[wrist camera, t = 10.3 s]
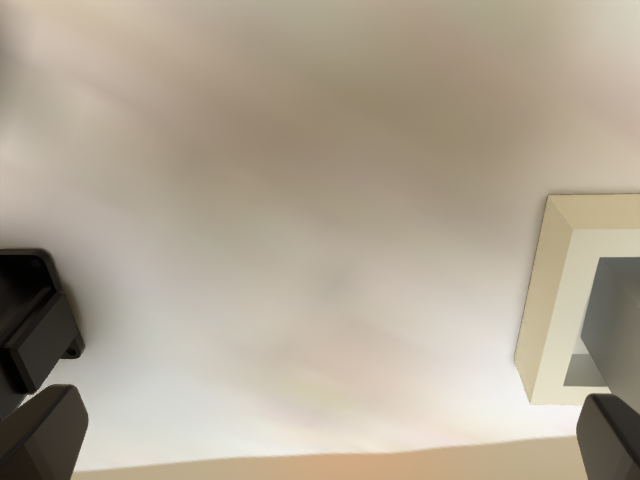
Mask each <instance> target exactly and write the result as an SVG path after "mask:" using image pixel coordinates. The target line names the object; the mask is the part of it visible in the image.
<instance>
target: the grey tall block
mask: <svg viewBox="0 0 640 480" xmlns="http://www.w3.org/2000/svg"><path fill="white" fill-rule="evenodd" d="M580 337H581V339H582V341H583V343H584V345H585V346H586V348H587V350H588V352H589V354H590V355H591V357H592V359H593V361H594V363H595V365H596V366H597V368H598V370H599V372H600V374H601V375H602V377H603V379H604V381H605V383H606V384H607V386H608V388H609V390H610V392H611V393H612V394H614V395H616V396H618V397H619V398H621V399H622V400H623V401H624V402H626V403H627V404H628V405H629V406H630V407H632V408H633V409H634V410H635V411H636V412H638V413H639V414H640V257H600V258H599V261H598V265H597V269H596V273H595V277H594V281H593V286H592V290H591V294H590V298H589V302H588V307H587V311H586V315H585V319H584V323H583V328H582V332H581V336H580Z"/></svg>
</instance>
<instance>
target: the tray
mask: <svg viewBox="0 0 640 480" xmlns="http://www.w3.org/2000/svg"><path fill="white" fill-rule="evenodd" d="M600 257H640V194H602V195H548V198H547V203H546V208H545V212H544V217H543V222H542V227H541V232H540V237H539V241H538V246H537V251H536V256H535V261H534V266H533V270H532V275H531V280H530V285H529V290H528V295H527V299H526V304H525V309H524V314H523V319H522V324H521V328H520V333H519V338H518V343H517V348H516V353H515V357H514V362H515V364H516V367H517V370H518V372H519V375H520V378H521V381H522V383H523V386H524V389H525V392H526V394H527V397H528V400H529V402H530V404H533V405H583V404H584V401H585V398H586V396H587V395H589V394H591V393H610V394H612V393H611V392H610V390H609V388H608V386H607V384H606V383H605V381H604V379H603V377H602V375H601V374H600V372H599V370H598V368H597V366H596V365H595V363H594V361H593V359H592V357H591V355H590V354H589V352H588V350H587V348H586V346H585V345H584V343H583V341H582V339H581V337H580V336H581V332H582V328H583V323H584V319H585V315H586V311H587V307H588V302H589V298H590V294H591V290H592V286H593V281H594V277H595V273H596V269H597V265H598V261H599V258H600Z"/></svg>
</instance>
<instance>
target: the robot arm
mask: <svg viewBox="0 0 640 480" xmlns="http://www.w3.org/2000/svg"><path fill="white" fill-rule="evenodd" d="M35 259H36V260H38V261H39V262H40V263H38V262H37V261H36V260H35ZM83 351H84V345H83V343H82V340H81V337H80V335H79V332H78V329H77V326H76V324H75V321H74V319H73V316H72V313H71V311H70V308H69V306H68V303H67V300H66V298H65V295H64V293H63V291H62V288H61V286H60V283H59V280H58V278H57V275H56V273H55V270H54V268H53V265H52V262H51V260H50V258H49V256H48V255H47V254H46V253H45V252H42V251H40V250H0V480H70V479H71V476H72V473H73V470H74V467H75V464H76V461H77V458H78V455H79V452H80V449H81V446H82V443H83V440H84V437H85V434H86V431H87V427H88V413H87V411H86V408H85V406H84V403H83V401H82V399H81V396H80V394H79V391H78V389H77V388H76V387H75V386H74V385H71V384H53V385H50V386H48V387H47V388H45V389H44V390H42V391H41V392H40V393H38V394H37V395H35V396H34V397H33V398H31V399H30V400H29V401H27V402H26V403H24V404H23V405H22V406H20V407H19V405H20V404H21V403H22V401H23V400H24V398H25V397H26V396H27V395H32V394H34V393H35V392H36V391H37V390H38V389H39V388H40V386H41V385H42V383H43V382H44V381H45V379H46V378H47V376H48V375H49V373H50V372H51V371H52V369H53V368H54V366H55V365H56V363H57V362H58V361H59V359H76V358H79V357H80V356H81V354H82V353H83ZM18 407H19V408H18ZM17 408H18V409H17ZM576 434H577V440H578V444H579V447H580V451H581V455H582V459H583V462H584V466H585V470H586V473H587V477H588V480H640V414H639V413H638V412H636V411H635V410H634V409H633V408H632V407H630V406H629V405H628V404H627V403H626V402H624V401H623V400H622V399H621V398H619V397H618V396H616V395H614V394H610V393H591V394H589V395H587V396H586V398H585V401H584V404H583V407H582V410H581V413H580V416H579V419H578V422H577V427H576Z"/></svg>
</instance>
